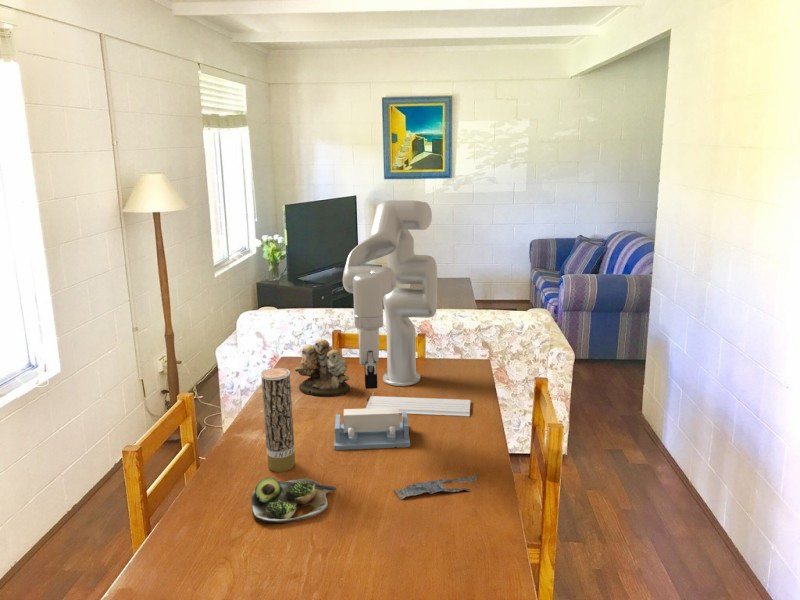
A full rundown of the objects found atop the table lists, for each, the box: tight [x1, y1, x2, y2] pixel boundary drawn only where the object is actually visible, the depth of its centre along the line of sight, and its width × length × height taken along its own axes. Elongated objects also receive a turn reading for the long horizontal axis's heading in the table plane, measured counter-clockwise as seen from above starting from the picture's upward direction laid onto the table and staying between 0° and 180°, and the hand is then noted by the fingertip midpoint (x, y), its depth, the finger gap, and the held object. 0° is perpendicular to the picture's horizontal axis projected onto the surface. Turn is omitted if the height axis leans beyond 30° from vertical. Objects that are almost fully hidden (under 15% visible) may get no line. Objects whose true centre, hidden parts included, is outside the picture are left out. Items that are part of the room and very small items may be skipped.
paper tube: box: [260, 367, 296, 473], centre depth 162 cm, size 7×7×25 cm
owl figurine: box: [294, 338, 351, 398], centre depth 212 cm, size 18×12×17 cm, turn 81°
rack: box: [333, 412, 411, 451], centre depth 179 cm, size 20×13×5 cm, turn 94°
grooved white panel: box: [365, 395, 471, 418], centre depth 198 cm, size 31×3×12 cm
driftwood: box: [394, 473, 480, 500], centre depth 154 cm, size 21×7×2 cm, turn 101°
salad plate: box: [250, 477, 337, 526], centre depth 149 cm, size 19×18×5 cm
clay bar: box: [343, 407, 401, 433], centre depth 179 cm, size 15×4×5 cm, turn 93°
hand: (370, 380), depth 177 cm, fingers open, 9 cm apart
